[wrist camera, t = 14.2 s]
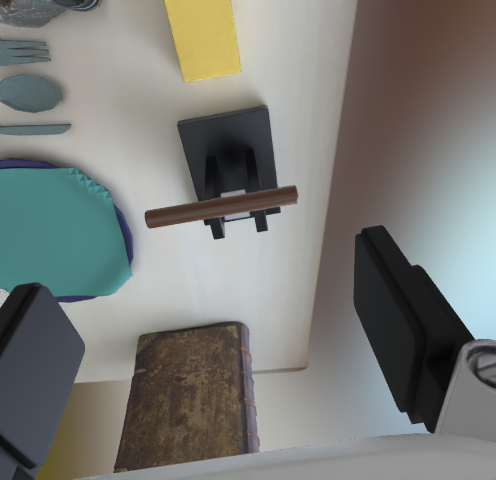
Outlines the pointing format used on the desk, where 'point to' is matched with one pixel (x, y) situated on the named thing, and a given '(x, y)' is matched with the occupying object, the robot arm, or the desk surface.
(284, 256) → the desk surface
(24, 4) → the chocolate cake
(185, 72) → the butter
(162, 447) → the book
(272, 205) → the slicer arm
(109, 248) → the cutlery set
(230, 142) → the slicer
